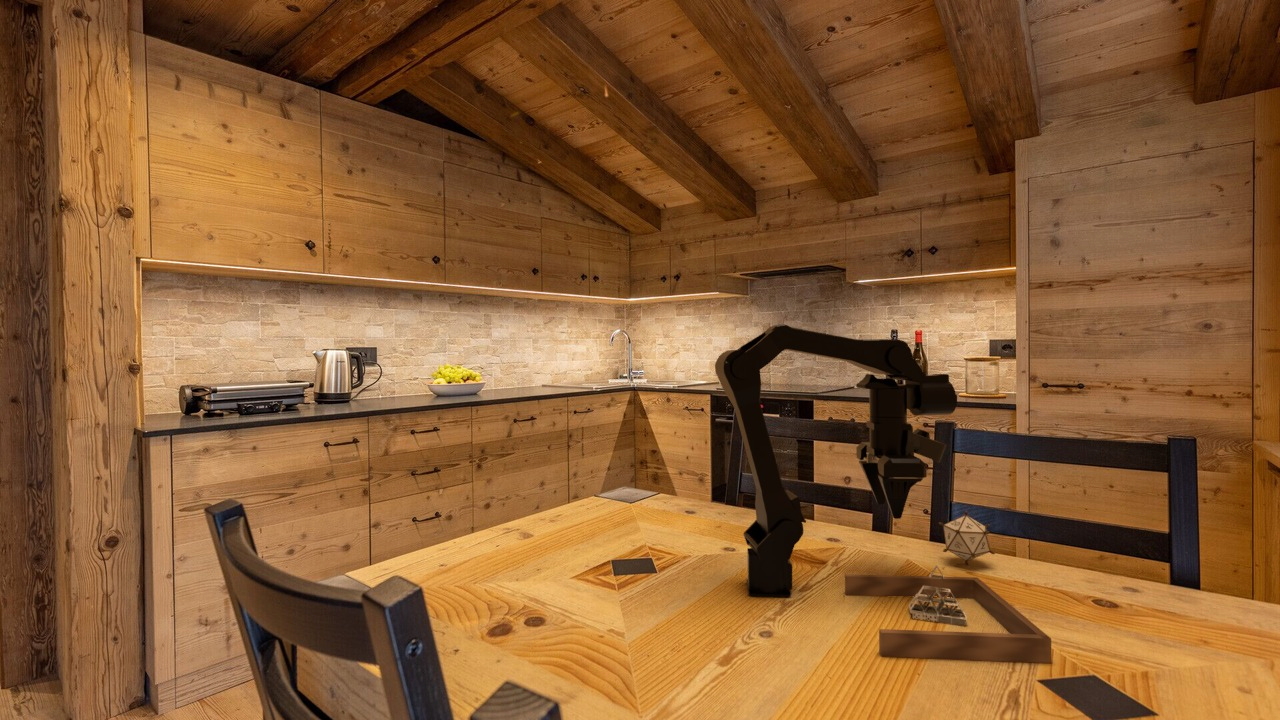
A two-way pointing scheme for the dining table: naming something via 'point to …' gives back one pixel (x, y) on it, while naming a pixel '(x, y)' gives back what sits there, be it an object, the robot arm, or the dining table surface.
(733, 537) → the dining table surface
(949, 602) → the house of cards
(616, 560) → the dining table surface
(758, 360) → the robot arm
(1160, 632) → the dining table surface
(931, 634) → the wooden arch
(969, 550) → the game die
